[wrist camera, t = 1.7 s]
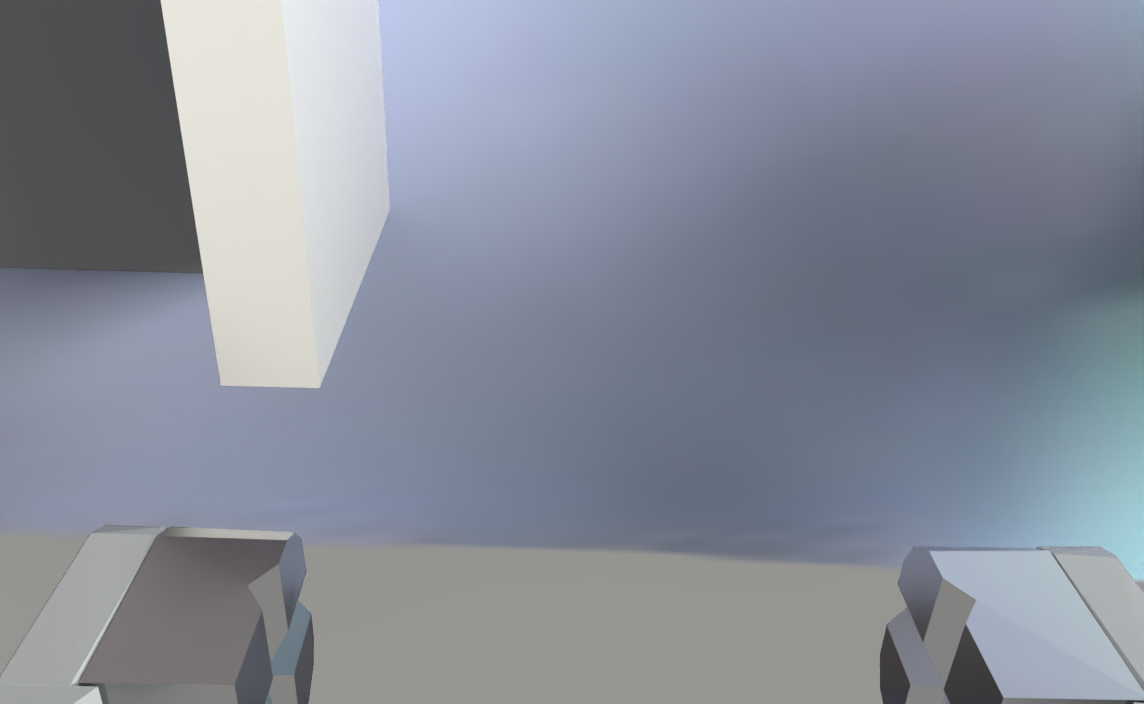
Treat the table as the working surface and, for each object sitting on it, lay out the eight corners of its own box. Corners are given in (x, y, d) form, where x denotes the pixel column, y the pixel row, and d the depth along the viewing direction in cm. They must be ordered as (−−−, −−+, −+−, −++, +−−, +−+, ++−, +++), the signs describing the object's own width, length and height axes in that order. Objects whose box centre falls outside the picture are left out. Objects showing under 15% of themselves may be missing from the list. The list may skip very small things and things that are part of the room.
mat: (233, -282, 23) (228, -283, 23) (292, 270, 30) (289, 275, 29) (-300, -308, 22) (-314, -309, 22) (-116, 258, 29) (-124, 263, 29)
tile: (369, -178, 24) (265, -162, 15) (389, 209, 29) (319, 388, 20) (282, -182, 24) (127, -169, 15) (317, 207, 29) (215, 385, 20)
